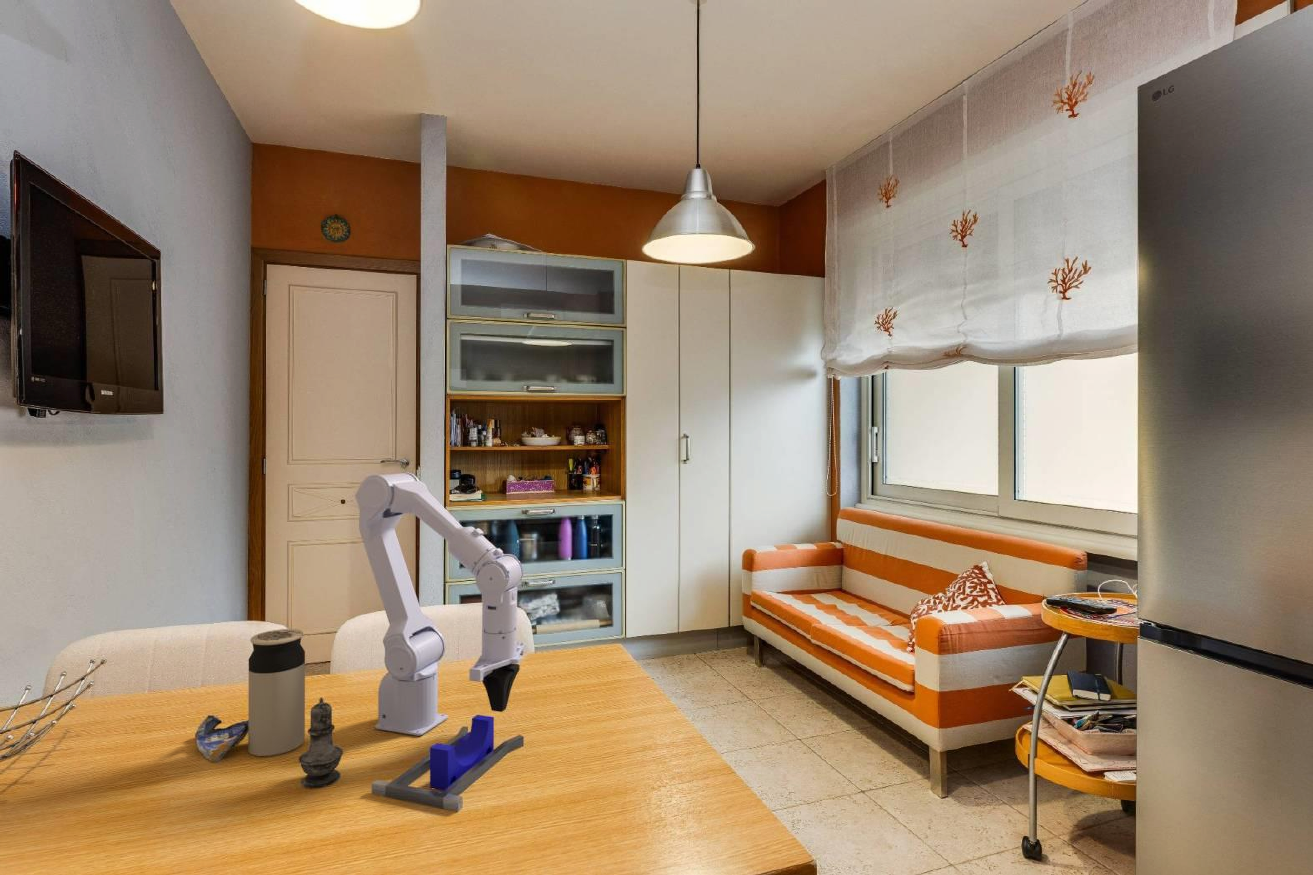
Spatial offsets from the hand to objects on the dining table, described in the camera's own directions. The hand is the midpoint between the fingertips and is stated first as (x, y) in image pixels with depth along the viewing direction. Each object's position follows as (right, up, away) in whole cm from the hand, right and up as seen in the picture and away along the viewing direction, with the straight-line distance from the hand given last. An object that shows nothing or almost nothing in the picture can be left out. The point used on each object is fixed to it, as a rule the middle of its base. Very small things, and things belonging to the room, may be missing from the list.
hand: (498, 709), depth 113 cm
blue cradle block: (-3, -5, -12) cm, 13 cm away
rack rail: (-4, -4, -11) cm, 13 cm away
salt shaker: (-23, -4, -15) cm, 27 cm away
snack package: (-44, -5, -4) cm, 44 cm away
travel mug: (-35, -4, -4) cm, 35 cm away
